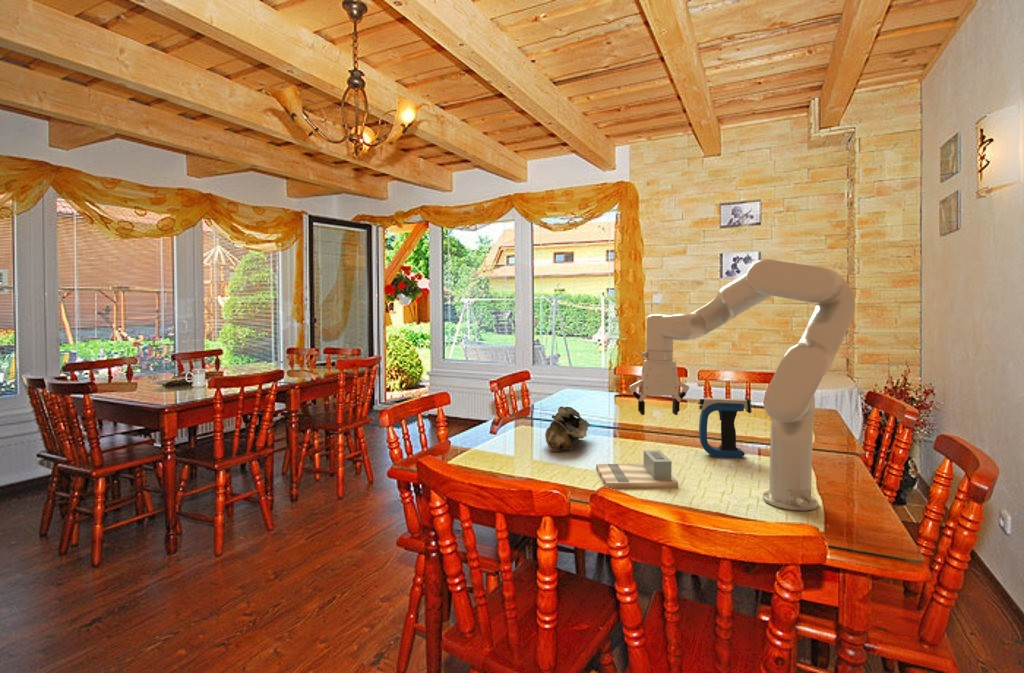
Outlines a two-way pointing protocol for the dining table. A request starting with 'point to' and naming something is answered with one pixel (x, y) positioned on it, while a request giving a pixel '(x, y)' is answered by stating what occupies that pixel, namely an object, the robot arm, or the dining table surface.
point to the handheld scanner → (722, 425)
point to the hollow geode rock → (565, 429)
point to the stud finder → (657, 464)
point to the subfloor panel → (631, 477)
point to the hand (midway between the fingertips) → (658, 414)
